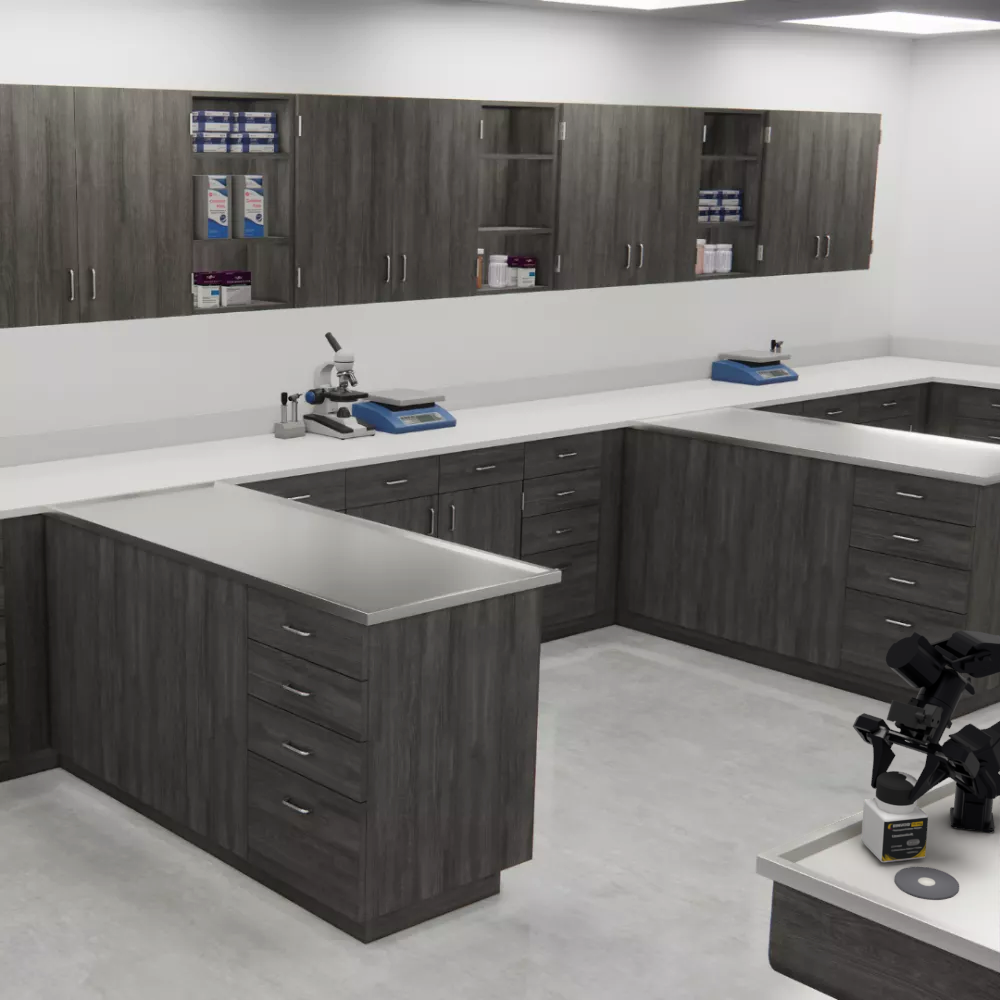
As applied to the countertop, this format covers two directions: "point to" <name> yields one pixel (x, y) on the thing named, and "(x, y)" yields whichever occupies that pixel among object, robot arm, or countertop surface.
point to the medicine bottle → (894, 820)
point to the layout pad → (926, 883)
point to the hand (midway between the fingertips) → (891, 794)
